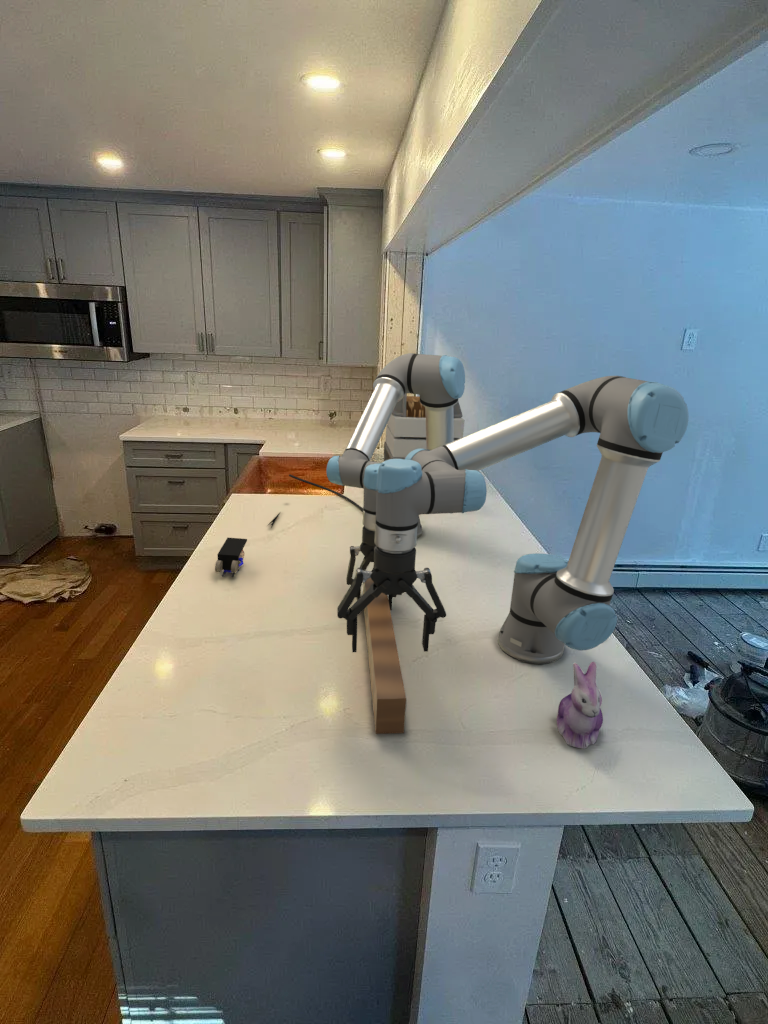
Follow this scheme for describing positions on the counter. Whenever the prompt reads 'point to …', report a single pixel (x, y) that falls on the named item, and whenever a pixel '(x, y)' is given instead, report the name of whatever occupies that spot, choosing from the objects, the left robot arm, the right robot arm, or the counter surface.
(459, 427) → the grey slatted crate
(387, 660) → the bar
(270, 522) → the feather
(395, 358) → the left robot arm
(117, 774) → the counter surface
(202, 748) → the counter surface
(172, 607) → the counter surface
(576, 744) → the figurine
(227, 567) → the black boxy wheeled piece
